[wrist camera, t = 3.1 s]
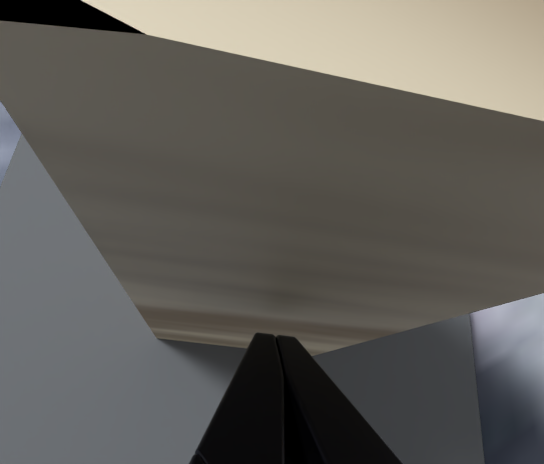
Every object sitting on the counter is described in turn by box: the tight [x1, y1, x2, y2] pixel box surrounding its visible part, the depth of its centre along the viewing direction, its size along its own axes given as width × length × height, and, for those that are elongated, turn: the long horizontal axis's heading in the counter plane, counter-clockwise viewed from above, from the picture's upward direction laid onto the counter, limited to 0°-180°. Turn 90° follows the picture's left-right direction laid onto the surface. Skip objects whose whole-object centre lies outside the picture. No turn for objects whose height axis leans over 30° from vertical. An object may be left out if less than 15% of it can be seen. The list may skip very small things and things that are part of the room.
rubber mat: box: [0, 134, 485, 464], centre depth 17 cm, size 26×20×1 cm
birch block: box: [0, 0, 544, 356], centre depth 10 cm, size 5×6×14 cm
